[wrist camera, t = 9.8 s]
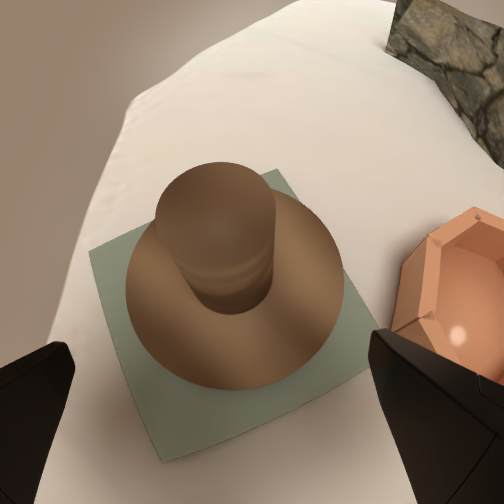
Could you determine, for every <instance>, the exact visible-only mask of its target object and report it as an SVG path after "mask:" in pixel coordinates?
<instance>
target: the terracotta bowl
mask: <svg viewBox="0 0 504 504" xmlns="http://www.w3.org/2000/svg"><path fill="white" fill-rule="evenodd" d="M391 331H393V332H395V333H397V334H399V335H401V336H403V337H405V338H407V339H409V340H411V341H413V342H415V343H417V344H419V345H421V346H423V347H425V348H427V349H429V350H431V351H433V352H435V353H437V354H439V355H441V356H443V357H445V358H447V359H449V360H451V361H453V362H455V363H457V364H459V365H461V366H464V367H466V368H468V369H470V370H472V371H474V372H476V373H477V375H479V374H480V375H482V376H484V377H486V378H488V379H490V380H492V381H494V382H497V383H499V384H501V385H503V386H504V219H501V218H499V217H497V216H495V215H493V214H490V213H488V212H486V211H484V210H481V209H479V208H477V207H472V208H470V209H469V210H467V211H465V212H464V213H462V214H461V215H459V216H458V217H456V218H454V219H453V220H451V221H450V222H448V223H446V224H445V225H443V226H442V227H440V228H438V229H437V230H435V231H433V232H432V233H430V234H428V235H427V237H426V238H425V239H424V240H423V241H422V242H421V244H420V245H419V246H418V247H417V248H416V249H415V251H414V252H413V253H412V254H411V255H410V256H409V257H408V259H407V260H406V261H405V262H404V264H403V265H402V271H401V278H400V285H399V291H398V297H397V302H396V308H395V313H394V318H393V323H392V328H391Z"/></svg>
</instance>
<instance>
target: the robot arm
mask: <svg viewBox="0 0 504 504" xmlns="http://www.w3.org/2000/svg"><path fill="white" fill-rule="evenodd" d="M368 361H369V365H370V369H371V372H372V376H373V379H374V383H375V387H376V390H377V394H378V398H379V401H380V405H381V407H382V410H383V412H384V415H385V417H386V420H387V422H388V425H389V428H390V430H391V433H392V435H393V438H394V440H395V443H396V446H397V448H398V451H399V453H400V456H401V459H402V461H403V464H404V467H405V470H406V472H407V475H408V478H409V481H410V483H411V486H412V489H413V492H414V495H415V498H416V501H417V503H418V504H504V386H503V385H501V384H499V383H497V382H494V381H492V380H490V379H488V378H486V377H484V376H482V375H480V374H479V375H477V373H476V372H474V371H472V370H470V369H468V368H466V367H464V366H461V365H459V364H457V363H455V362H453V361H451V360H449V359H447V358H445V357H443V356H441V355H439V354H437V353H435V352H433V351H431V350H429V349H427V348H425V347H423V346H421V345H419V344H417V343H415V342H413V341H411V340H409V339H407V338H405V337H403V336H401V335H399V334H397V333H395V332H393V331H391V330H389V329H386V328H383V329H376V330H373V331H372V333H371V337H370V344H369V350H368ZM74 373H75V363H74V360H73V358H72V355H71V353H70V350H69V348H68V345H67V344H66V343H65V342H58V341H54V342H52V343H50V344H48V345H46V346H44V347H42V348H40V349H38V350H36V351H34V352H32V353H30V354H28V355H26V356H24V357H22V358H20V359H18V360H16V361H14V362H12V363H10V364H8V365H6V366H4V367H2V368H0V504H34V501H35V497H36V493H37V490H38V486H39V483H40V479H41V476H42V473H43V469H44V466H45V463H46V460H47V457H48V454H49V451H50V448H51V445H52V442H53V439H54V436H55V433H56V431H57V428H58V425H59V422H60V420H61V417H62V414H63V411H64V408H65V405H66V401H67V397H68V394H69V390H70V387H71V383H72V380H73V376H74Z"/></svg>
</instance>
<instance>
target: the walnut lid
mask: <svg viewBox="0 0 504 504" xmlns="http://www.w3.org/2000/svg"><path fill="white" fill-rule="evenodd" d="M125 295H126V304H127V310H128V314H129V317H130V321H131V323H132V326H133V328H134V330H135V333H136V335H137V336H138V338H139V340H140V341H141V343H142V345H143V346H144V347H145V349H146V350H147V351H148V352H149V354H150V355H151V356H152V357H153V358H154V359H155V360H156V361H157V362H158V363H160V364H161V365H162V366H163V367H164V368H166V369H167V370H169V371H170V372H171V373H173V374H174V375H176V376H178V377H180V378H182V379H184V380H186V381H188V382H191V383H194V384H197V385H200V386H203V387H207V388H213V389H219V390H247V389H254V388H258V387H262V386H266V385H269V384H272V383H274V382H277V381H279V380H281V379H284V378H285V377H287V376H289V375H290V374H292V373H294V372H295V371H297V370H298V369H299V368H301V367H302V366H303V365H304V364H306V363H307V362H308V361H309V360H310V359H311V358H312V357H313V356H314V355H315V354H316V353H317V352H318V351H319V350H320V349H321V347H322V346H323V345H324V343H325V342H326V340H327V339H328V337H329V336H330V334H331V332H332V330H333V328H334V326H335V324H336V322H337V319H338V316H339V313H340V310H341V307H342V301H343V296H344V272H343V265H342V261H341V257H340V253H339V251H338V248H337V246H336V243H335V241H334V239H333V238H332V236H331V234H330V232H329V231H328V229H327V228H326V226H325V225H324V224H323V223H322V221H321V220H320V219H319V218H318V217H317V216H316V215H315V214H314V213H313V212H312V211H311V210H310V209H309V208H307V207H306V206H305V205H303V204H302V203H301V202H299V201H298V200H296V199H294V198H292V197H291V196H289V195H287V194H284V193H282V192H280V191H277V190H274V189H271V188H270V186H269V185H268V183H267V182H266V181H265V180H264V179H263V178H262V177H261V176H260V175H259V174H257V173H256V172H255V171H253V170H251V169H249V168H247V167H245V166H242V165H239V164H234V163H228V162H214V163H207V164H203V165H199V166H197V167H194V168H192V169H190V170H187V171H186V172H184V173H182V174H181V175H179V176H178V177H177V178H176V179H174V180H173V181H172V182H171V183H170V184H169V185H168V187H167V188H166V189H165V191H164V192H163V194H162V195H161V197H160V199H159V202H158V205H157V208H156V214H155V219H154V220H153V221H152V222H151V223H150V224H149V226H148V227H147V228H146V230H145V231H144V232H143V234H142V235H141V237H140V239H139V240H138V242H137V244H136V246H135V248H134V251H133V253H132V255H131V258H130V262H129V265H128V269H127V276H126V288H125Z"/></svg>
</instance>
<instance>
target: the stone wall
mask: <svg viewBox="0 0 504 504" xmlns="http://www.w3.org/2000/svg"><path fill="white" fill-rule="evenodd" d="M385 53H387V54H389V55H391V56H393V57H395V58H397V59H398V60H400V61H402V62H404V63H406V64H407V65H409V66H411V67H412V68H414V69H416V70H417V71H419V72H421V73H422V74H424V75H426V76H427V77H429V78H430V79H432V80H434V81H435V82H436V84H437V85H438V87H439V89H440V90H441V92H442V94H443V95H444V96H445V98H446V99H447V100H448V102H449V103H450V104H451V106H452V107H453V109H454V110H455V112H456V113H457V114H458V116H459V117H460V118H461V119H462V121H463V122H464V123H465V125H466V126H467V128H468V130H469V132H470V134H471V136H472V137H473V139H474V140H475V141H476V142H477V143H478V144H479V145H480V147H481V148H482V149H483V150H484V151H485V152H486V153H487V154H488V155H489V156H490V158H491V159H492V160H493V161H494V162H495V163H496V164H497V165H499V166H500V167H501V168H503V169H504V29H503V28H502V27H500V26H497V25H494V24H491V23H488V22H485V21H483V20H479V19H476V18H473V17H472V16H469V15H467V14H464V13H463V12H461V11H459V10H457V9H456V8H453V7H452V6H450V5H448V4H446V3H444V2H442V1H440V0H397V3H396V7H395V12H394V17H393V21H392V25H391V30H390V34H389V38H388V42H387V47H386V51H385Z"/></svg>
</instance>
